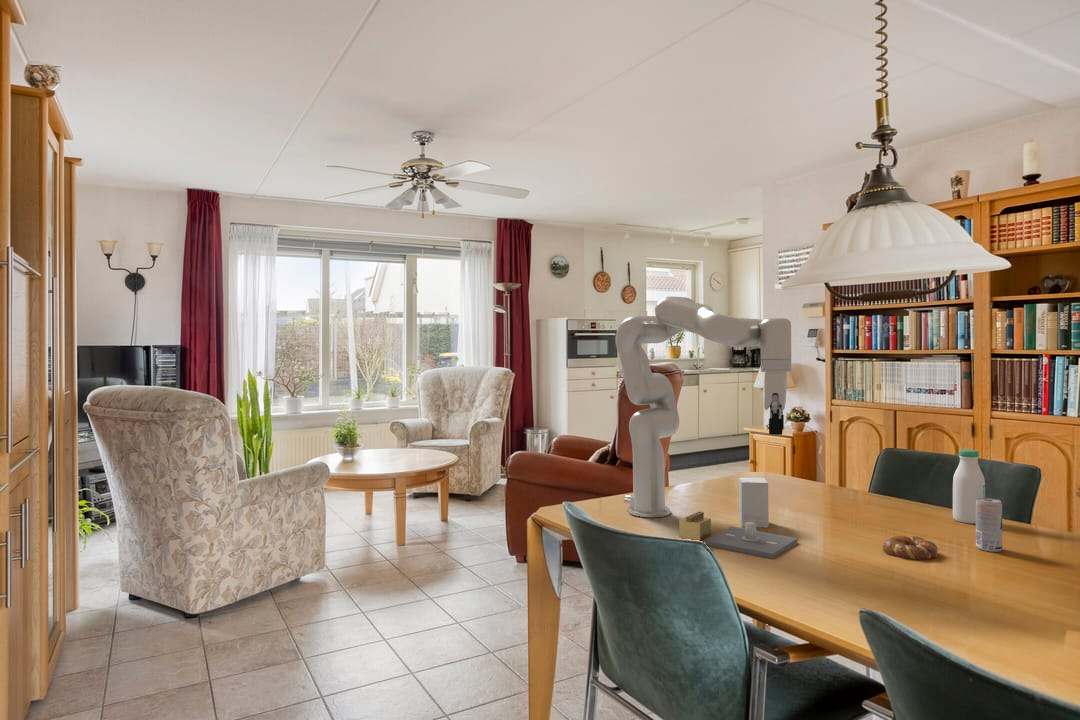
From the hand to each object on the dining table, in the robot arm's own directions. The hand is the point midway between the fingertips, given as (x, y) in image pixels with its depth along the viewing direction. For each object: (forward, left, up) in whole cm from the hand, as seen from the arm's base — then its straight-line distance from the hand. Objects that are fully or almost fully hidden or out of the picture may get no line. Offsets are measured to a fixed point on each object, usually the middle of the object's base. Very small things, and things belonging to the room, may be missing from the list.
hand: (776, 431), depth 173 cm
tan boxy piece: (-17, -13, -28) cm, 35 cm away
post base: (-4, -8, -28) cm, 29 cm away
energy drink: (+43, +23, -28) cm, 57 cm away
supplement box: (-11, +10, -28) cm, 32 cm away
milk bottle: (+35, +49, -28) cm, 67 cm away
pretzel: (+29, +8, -29) cm, 42 cm away
